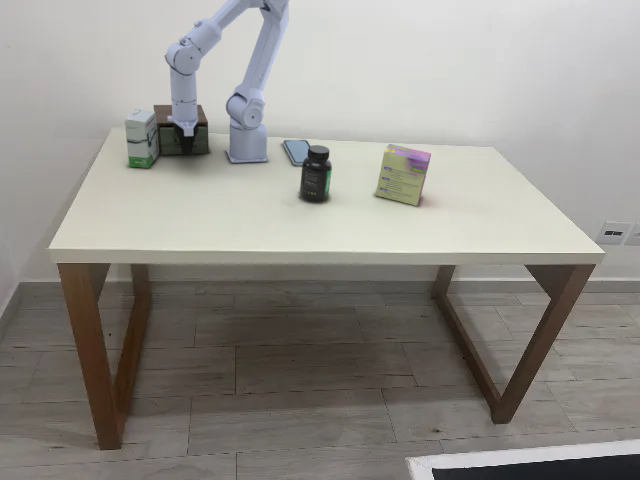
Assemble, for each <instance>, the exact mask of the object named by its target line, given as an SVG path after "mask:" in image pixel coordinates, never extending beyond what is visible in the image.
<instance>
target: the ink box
mask: <svg viewBox="0 0 640 480" xmlns="http://www.w3.org/2000/svg"><path fill="white" fill-rule="evenodd" d="M124 126H125V127H124V128H125V136H126V137H125V138H126V147H127V154H128V156H127V158H128V164H129V167H131V168H141V169H143V168H144V169H149V168H150V167H151V166H152V165H153V163H154V162H155V160H156V159H157V158H158V156H159V151H158V143H157V130H156V115H155V112H154V110H147V109H139V108H138V109H137V108H135V109H134V110H133V111H132V112H131V113H130V114H129V115H127V116H126V117H125V118H124Z"/></svg>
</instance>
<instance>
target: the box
mask: <svg viewBox="0 0 640 480" xmlns="http://www.w3.org/2000/svg"><path fill="white" fill-rule="evenodd" d="M431 156H432V153H431V152H428V151H427V152H426V151H423V150H418V149H414V148H409V147H405V146H400V145H396V144H393V143H389V144H388V145H387V146H386V149H384V152H383V156H382V161H381V166H380V172H379V176H378V182H377V187H376V193H375V196H377V197H381V198H385V199H388V200H393V201H397V202H401V203H404V204H407V205H412V206H415V207H417V206H418V205H419V203H420V200H421V197H422V193H423V189H424V186H425V181H426V177H427V173H428V169H429V165H430V161H431Z"/></svg>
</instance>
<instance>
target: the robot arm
mask: <svg viewBox="0 0 640 480" xmlns="http://www.w3.org/2000/svg"><path fill="white" fill-rule="evenodd" d="M289 2H290V0H226V1H225V2H224V3H223V4H222V5H221V7H220V8H219V9H218V10H217V11H216V12H215V13H214V14H213V15H212V16H211V17H210V18H201V19H200V20H199V19H196V20H195V21H194V22H193V25H194V26H193V27H192V28H191V29H190V30H189V31H188V32H187V33H186V34H185V35H184V36H180V37H179V38H178V41H179V42H173V43H172V44H170V45H169V46H168V48H167V49H166V52H165V54H164V60H165V62H166V63H167V65H168V66H169V82H170V98H171V99H170V100H171V105H172V116H167V119H168V121H172V122H174V123H173V127H174V131H175V133H176V134H177V136H178V138H179V142H180V146H181V150H182V153H183V154H182V155H192V154H191V153H192V149H193V143H194V139H195V136H196V134H197V133H198V127H197V122H198V116H197V105H198V95H197V94H198V93H197V71H198V70H199V69H200V66H201V62H202V59H203V58H204V57H205V56H207V54H208V53H209V52H210V51H211V50H212V49H213V48H215V46H217V44H218V43H219V42H220V41H221V40H222V32H223V31H224V30H225V29H226V28H227V27H228V26H229V25H230V24H232V23H233V22H234V21H235V20H237V19H238V17H240V16H241V15H242V14H243V13H245V11H247V10H248V9H257V8H259V11H260V14H261V16H262V18H263V21H262V25H261V28H260V31H259V34H258V37H257V39H256V42H255V45H254V48H253V51H252V54H251V56H250V60H249V62H248V65H247V67H246V71H245V73H244V76H243V79H242V82H241V83H240V84H239V85H237V86H235V87H234V90H233V92H232V94H231V95H230V96H229V97H228V98H227V100H226V102H225V111H226V114H227V115H228V116H229V117H230V118H229V148H227V149H225V152H226V154H227V156H228V158H229V161H230V163H231V164H239V163H240V164H242V163H263V162H265V163H266V162H268V158H267V151H268V129H267V127H266V124H265V123H262V122H263V119H264V108H265V105H266V100H265V96H264V94H263V93H264V89H265V87H266V84H267V81H268V78H269V76H270V73H271V70H272V68H273V66H274V62H275V59H276V57H277V54H278V51H279V48H280V46H281V43H282V41H283V38H284V35H285V32H286V30H287V28H288V24H289V22H290V21H289V20H290V13H289V12H290V11H289V9H290V8H289Z"/></svg>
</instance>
